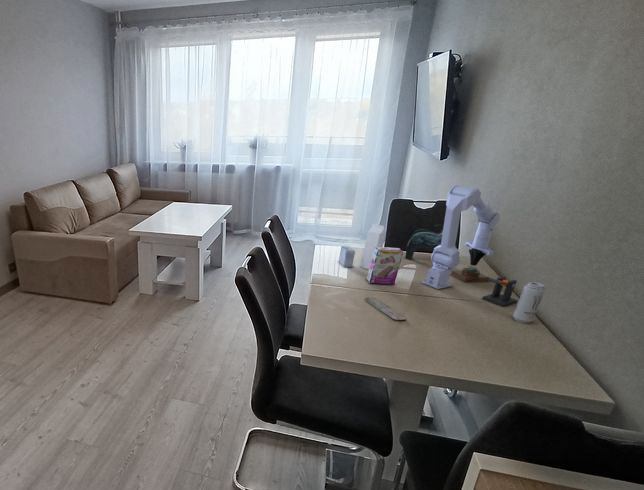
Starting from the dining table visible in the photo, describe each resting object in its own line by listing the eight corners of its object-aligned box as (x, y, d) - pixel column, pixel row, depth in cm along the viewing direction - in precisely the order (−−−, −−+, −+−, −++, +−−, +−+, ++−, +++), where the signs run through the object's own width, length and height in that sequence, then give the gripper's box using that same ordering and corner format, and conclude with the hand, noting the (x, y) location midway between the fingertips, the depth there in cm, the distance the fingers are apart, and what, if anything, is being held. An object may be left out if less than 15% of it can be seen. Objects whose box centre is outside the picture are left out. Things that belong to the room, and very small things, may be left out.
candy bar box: (369, 284, 187) (377, 249, 181) (366, 279, 192) (373, 246, 185) (395, 285, 186) (404, 251, 180) (391, 281, 191) (399, 247, 184)
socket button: (470, 272, 194) (471, 269, 193) (464, 269, 197) (465, 266, 196) (478, 272, 194) (479, 269, 193) (472, 269, 198) (473, 266, 197)
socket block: (464, 282, 192) (466, 274, 191) (450, 274, 200) (453, 267, 199) (487, 281, 194) (490, 273, 192) (473, 274, 202) (476, 266, 200)
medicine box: (352, 267, 206) (355, 251, 203) (343, 267, 207) (346, 250, 203) (346, 262, 214) (349, 246, 210) (338, 261, 214) (341, 245, 210)
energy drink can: (523, 324, 155) (538, 288, 149) (508, 317, 160) (522, 281, 154) (535, 322, 156) (551, 286, 150) (519, 315, 161) (534, 280, 155)
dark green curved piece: (446, 263, 215) (458, 226, 207) (446, 267, 210) (458, 229, 202) (404, 256, 225) (413, 220, 217) (403, 259, 220) (412, 222, 212)
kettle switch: (499, 286, 164) (502, 280, 164) (486, 281, 168) (489, 276, 168) (512, 288, 170) (515, 283, 169) (499, 284, 174) (502, 278, 173)
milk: (371, 270, 203) (381, 227, 194) (360, 267, 207) (369, 224, 198) (377, 268, 206) (388, 225, 197) (366, 264, 211) (376, 222, 202)
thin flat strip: (373, 298, 174) (373, 296, 173) (407, 319, 155) (407, 317, 155) (362, 299, 173) (362, 297, 173) (395, 320, 154) (395, 318, 154)
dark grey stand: (502, 306, 169) (510, 284, 165) (482, 298, 175) (489, 277, 171) (516, 302, 173) (524, 280, 169) (496, 295, 179) (503, 274, 175)
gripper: (503, 241, 183) (493, 270, 188) (478, 232, 196) (469, 259, 201) (488, 242, 182) (479, 270, 187) (464, 232, 195) (456, 259, 201)
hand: (473, 264), depth 194 cm, fingers closed
